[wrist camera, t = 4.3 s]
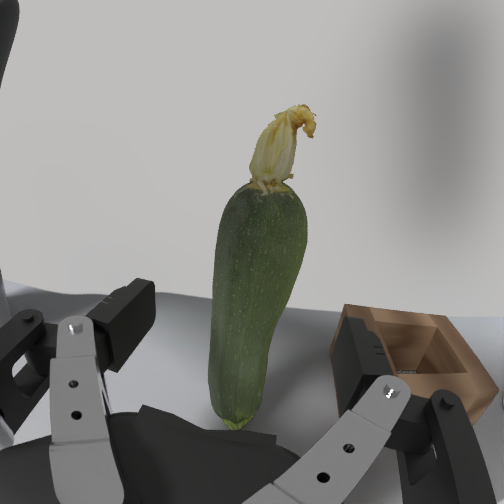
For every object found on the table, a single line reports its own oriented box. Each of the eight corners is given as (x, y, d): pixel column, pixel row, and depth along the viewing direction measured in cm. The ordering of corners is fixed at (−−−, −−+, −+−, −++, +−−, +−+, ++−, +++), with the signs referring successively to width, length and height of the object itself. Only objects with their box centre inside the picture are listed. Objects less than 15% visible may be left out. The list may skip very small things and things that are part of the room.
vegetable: (193, 407, 19) (213, 96, 12) (237, 386, 22) (276, 111, 15) (231, 447, 16) (286, 88, 9) (276, 419, 19) (345, 115, 12)
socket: (342, 446, 16) (372, 398, 14) (329, 349, 27) (344, 303, 26) (464, 435, 15) (499, 390, 13) (426, 356, 26) (445, 315, 25)
